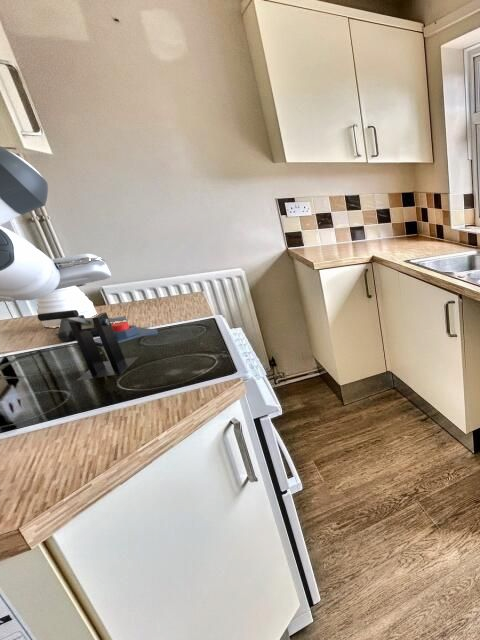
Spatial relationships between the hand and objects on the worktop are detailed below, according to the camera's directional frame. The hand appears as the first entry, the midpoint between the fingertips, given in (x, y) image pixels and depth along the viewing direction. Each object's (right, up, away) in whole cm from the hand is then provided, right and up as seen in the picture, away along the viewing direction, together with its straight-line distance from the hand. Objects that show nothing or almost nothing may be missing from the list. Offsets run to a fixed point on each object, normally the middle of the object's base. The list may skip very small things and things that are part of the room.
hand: (47, 289), depth 80 cm
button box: (-20, -10, +38) cm, 44 cm away
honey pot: (-55, -4, +57) cm, 79 cm away
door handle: (-39, -7, +48) cm, 62 cm away
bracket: (-5, -17, +18) cm, 25 cm away
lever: (-3, -7, +9) cm, 11 cm away
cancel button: (-20, -7, +37) cm, 43 cm away
